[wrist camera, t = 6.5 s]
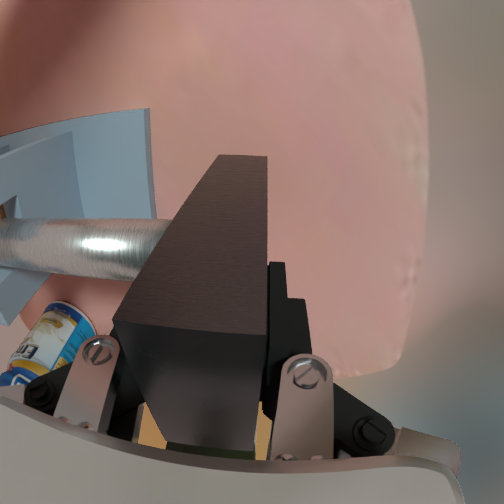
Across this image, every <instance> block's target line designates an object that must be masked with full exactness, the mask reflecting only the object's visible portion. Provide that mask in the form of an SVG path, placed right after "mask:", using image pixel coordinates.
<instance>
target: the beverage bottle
mask: <svg viewBox="0 0 504 504" xmlns="http://www.w3.org/2000/svg"><path fill="white" fill-rule="evenodd" d="M92 336H96V331H95V328H94V326H93V324H92V323H91V321H90V320H89V318H88V317H87V316H86V315H85V314H84V313H83V312H82V311H80V310H79V309H78V308H76V307H75V306H73V305H71V304H69V303H66V302H63V301H55V302H52V303H50V304H49V305H48V307H47V308H46V309H45V311H44V313H43V314H42V315H41V317H40V318H39V320H38V321H37V322H36V324H35V325H34V326H33V328H32V329H31V331H30V332H29V334H28V335H27V336H26V338H25V339H24V341H23V342H22V343H21V345H20V346H19V348H18V349H17V351H16V352H15V353H14V354H12V356H11V357H10V359H9V361H8V367H7V371H6V372H4V373H2V374H1V375H0V387H1V386H10V385H18V384H25V385H26V386H27V385H28V384H29V383H30V382H31V381H32V380H33V379H35V378H37V377H39V376H41V375H44V374H46V373H48V372H50V371H53V370H55V369H57V368H59V367H62V366H64V365H66V364H68V363H71V362H73V361H74V359H75V357H76V355H77V352H78V350H79V348H80V346H81V345H82V343H83V342H85V341H86V340H87V339H89V338H90V337H92Z"/></svg>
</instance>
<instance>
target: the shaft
mask: <svg viewBox="0 0 504 504" xmlns="http://www.w3.org/2000/svg"><path fill="white" fill-rule="evenodd" d="M0 265H1V266H7V267H14V268H21V269H28V270H35V271H42V272H49V273H57V274H65V275H73V276H81V277H90V278H99V279H108V280H117V281H127V282H133V283H132V285H131V287H130V288H129V290H128V292H127V294H126V295H125V297H124V299H123V301H122V302H121V304H120V306H119V308H118V309H117V311H116V313H115V315H114V316H113V318H112V321H113V324H114V327H115V329H116V332H117V335H118V338H119V340H120V343H121V346H122V348H123V351H124V353H125V356H126V358H127V361H128V363H129V366H130V368H131V370H132V373H133V375H134V377H135V380H136V382H137V384H138V386H139V389H140V391H141V393H142V395H143V397H144V399H145V401H146V404H147V406H148V408H149V410H150V412H151V414H152V416H153V418H154V420H155V421H156V424H157V426H158V427H159V429H160V431H161V433H162V435H163V437H164V438H165V440H166V441H169V442H175V443H181V444H187V445H194V446H201V447H209V448H218V449H229V450H242V451H253V448H254V440H255V431H256V423H257V415H258V406H259V397H260V389H261V380H262V370H263V361H264V352H265V342H266V317H267V156H248V155H218V157H217V158H216V159H215V161H214V162H213V163H212V165H211V166H210V167H209V169H208V170H207V171H206V173H205V174H204V176H203V177H202V178H201V180H200V181H199V182H198V184H197V185H196V187H195V188H194V189H193V191H192V192H191V194H190V195H189V197H188V198H187V199H186V201H185V202H184V204H183V205H182V207H181V208H180V210H179V211H178V213H177V214H176V216H175V217H174V219H173V220H168V219H132V218H0Z"/></svg>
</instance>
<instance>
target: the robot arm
mask: <svg viewBox="0 0 504 504" xmlns="http://www.w3.org/2000/svg"><path fill="white" fill-rule="evenodd" d="M259 401H261V402H262V410H263V413H264V414H265V415H266V416H267V417H268V418H269V419H270V420H272V424H271V431H270V439H269V445H268V452H267V458H266V461H264V460H244V459H230V458H220V457H211V456H203V455H195V454H189V453H182V452H176V451H171V450H165V449H160V448H155V447H151V446H146V445H142V444H138V439H139V432H140V426H141V420H142V414H143V409H144V402H146V401H145V399H144V397H143V395H142V393H141V391H140V389H139V386H138V384H137V382H136V380H135V377H134V375H133V373H132V370H131V368H130V366H129V363H128V361H127V358H126V356H125V353H124V351H123V348H122V346H121V343H120V340H119V338H118V335H117V332H116V329H115V327H113V329H112V331H111V333H110V335H109V336H108V335H96V336H92V337H90V338H89V339H87V340H86V341H85V342H83V343H82V345H81V346H80V348H79V350H78V352H77V355H76V357H75V359H74V361H73V362H71V363H68V364H66V365H64V366H62V367H59V368H57V369H55V370H53V371H50V372H48V373H46V374H44V375H41V376H39V377H37V378H35V379H33V380H32V381H31V382H30V383H29V384H28V385H27V386H26V385H25V384H18V385H10V386H1V387H0V504H465V500H464V497H463V494H462V491H461V488H460V485H459V483H458V481H457V476H458V471H459V466H460V461H461V451H460V449H459V446H458V445H457V444H456V443H455V442H453V441H451V440H448V439H444V438H440V437H436V436H432V435H429V434H425V433H422V432H418V431H415V430H411V429H408V428H404V427H402V428H401V429H397V428H394V427H393V426H392V424H391V422H390V421H389V420H388V419H387V418H385V417H384V416H382V415H381V414H379V413H378V412H376V411H375V410H373V409H371V408H370V407H368V406H367V405H366V404H364V403H363V402H361V401H360V400H358V399H357V398H355V397H354V396H352V395H351V394H349V393H348V392H347V391H345V390H344V389H342V388H341V387H339V386H338V385H336V384H335V383H333V373H332V369H331V367H330V366H329V364H328V363H327V362H326V361H325V360H324V359H322V358H320V357H318V356H316V355H312V347H311V340H310V332H309V324H308V317H307V310H306V303H305V299H297V298H288V297H287V284H286V271H285V262H269V265H267V317H266V342H265V352H264V361H263V370H262V380H261V389H260V397H259Z"/></svg>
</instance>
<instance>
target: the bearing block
mask: <svg viewBox="0 0 504 504" xmlns="http://www.w3.org/2000/svg"><path fill="white" fill-rule="evenodd" d="M1 204H3V207H4V211H5V214H6V218H132V219H157V216H156V206H155V195H154V184H153V171H152V156H151V137H150V108H145V109H135V110H126V111H118V112H111V113H104V114H97V115H91V116H85V117H80V118H74V119H69V120H64V121H59V122H55V123H50V124H46V125H42V126H38V127H34V128H30V129H26V130H22V131H19V132H15V133H12V134H8V135H5V136H2V137H0V205H1ZM51 274H52V273H49V272H42V271H35V270H28V269H21V268H14V267H7V266H1V265H0V324H3V325H6V326H10V324H11V323H12V322H13V320H14V319H15V318H16V316H17V315H18V314H19V313H20V311H21V310H22V309H23V307H24V306H25V305H26V304H27V302H28V301H29V300H30V299H31V298H32V296H33V295H34V294H35V293H36V292H37V290H38V289H39V288H40V287H41V286H42V285H43V283H44V282H45V281H46V280H47V279H48V278H49V277H50V275H51Z"/></svg>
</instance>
